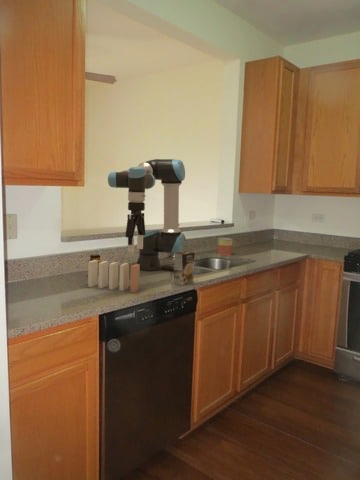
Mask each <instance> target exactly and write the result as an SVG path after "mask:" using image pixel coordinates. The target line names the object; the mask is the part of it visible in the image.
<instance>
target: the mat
mask: <svg viewBox="0 0 360 480" xmlns="http://www.w3.org/2000/svg"><path fill="white" fill-rule="evenodd" d="M119 287H120V284H118V287H116V288H114V289H109V283H108V286H106V287H103V288H98V284H97V285H95V286H93V287H88V283H86V284H84V285H81V286H80V288H85V289H93V290H102V291H111V292H116V293H118V292H119V293H126V294H135V295H139V294H141V293H143V292H144V291H146V290H148V288H145V287H140V286H139V289H138V290H137V291H135V292H130V285H128V288H127V289H125V290H124V291H120V290H119Z"/></svg>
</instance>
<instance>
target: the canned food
mask: <svg viewBox="0 0 360 480" xmlns="http://www.w3.org/2000/svg"><path fill="white" fill-rule="evenodd" d="M233 242H234V239H233V238H230V237H218V238H217V247H216V248H217V250H216V251H217V252H216V255H217V254H221V255H220V256H222V255H231V254H232V255H233ZM232 255H231V256H232Z"/></svg>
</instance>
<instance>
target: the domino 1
mask: <svg viewBox="0 0 360 480" xmlns="http://www.w3.org/2000/svg"><path fill="white" fill-rule="evenodd" d="M89 261H90V260H89ZM89 261H88V262H87V263H88V265H87V284H88V287H93V286H95V285H97V284H98V260H93V261H90V262H89Z"/></svg>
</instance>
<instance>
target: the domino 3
mask: <svg viewBox="0 0 360 480" xmlns="http://www.w3.org/2000/svg"><path fill="white" fill-rule="evenodd" d="M108 284H109V289H114V288H116V287H118V285H119V261H113V262H110V263H108Z"/></svg>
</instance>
